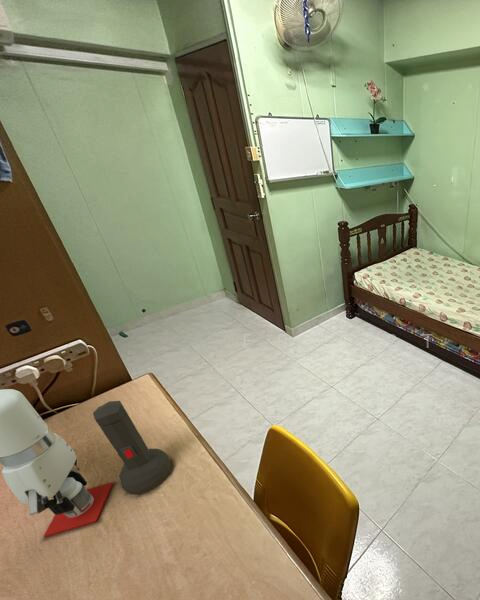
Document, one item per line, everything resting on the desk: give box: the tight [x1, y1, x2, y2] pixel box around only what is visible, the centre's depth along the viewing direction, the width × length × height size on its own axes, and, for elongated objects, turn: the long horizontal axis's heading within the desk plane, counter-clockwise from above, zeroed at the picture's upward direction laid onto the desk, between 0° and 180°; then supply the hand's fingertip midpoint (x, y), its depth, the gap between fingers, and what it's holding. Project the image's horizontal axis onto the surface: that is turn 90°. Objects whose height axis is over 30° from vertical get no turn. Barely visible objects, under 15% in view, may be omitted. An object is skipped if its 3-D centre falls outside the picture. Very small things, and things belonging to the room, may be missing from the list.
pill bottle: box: [51, 477, 94, 518], centre depth 69 cm, size 5×5×8 cm
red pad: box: [43, 482, 114, 538], centre depth 71 cm, size 9×9×1 cm
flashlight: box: [92, 400, 172, 495], centre depth 72 cm, size 10×25×10 cm
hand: (71, 498), depth 69 cm, fingers closed on pill bottle, 4 cm apart
